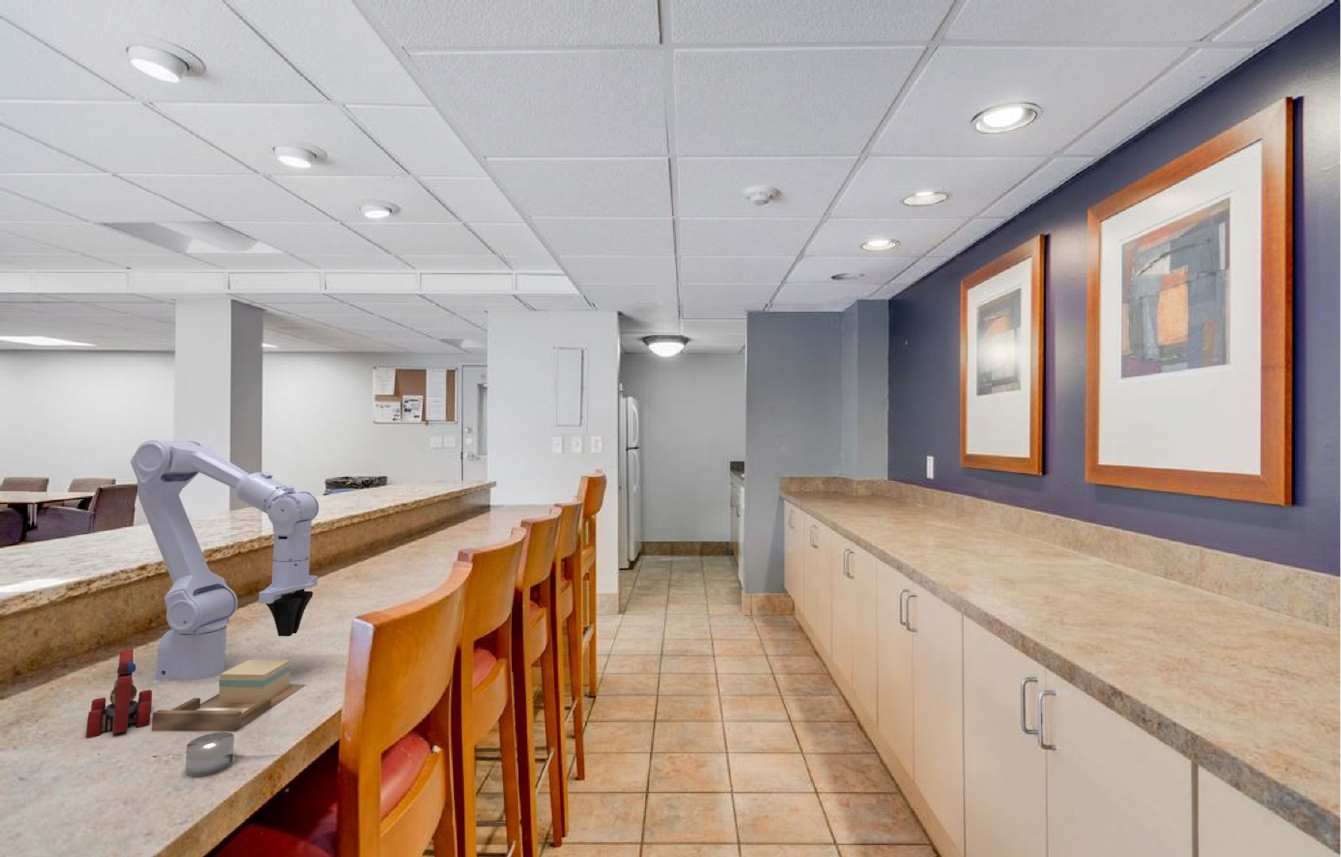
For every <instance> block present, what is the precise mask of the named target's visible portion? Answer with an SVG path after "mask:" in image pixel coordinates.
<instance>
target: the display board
mask: <svg viewBox="0 0 1341 857" xmlns="http://www.w3.org/2000/svg"><path fill="white" fill-rule="evenodd" d="M306 686H307V684H304V683H303V684H298V683H297V684H296V683H294V684H293V683H292V684H291V683H289V687H287V688H286V689H284V690H283V691H281V692H279V693H278V694H276V695H275V696H273V697H272V698H270V699H264V700H262V701H260V702H259V703H219V693H218V694H215V695H213V696H212V697H210V698H209V699H207V700H205V701H203V702H201V697H194V698H191V699H189V700H187V701H186V702H183V703H182V704H180V705H178V706H176V707H174V708H173V709H170V710H169V709H165V710H164V709H163V710H162V709H158V710H156V711H154V712H152V718H151V719H152V720H151V721H152V722H151V732H204V733H205V732H212V733H213V732H214V733H219V732H228V733H231V732H232V733H235V732H238V731H239V730H241V729H242V728H244V727H245V726H247V725H249V724H250V723H252V722H253V721H254V720H256V719H258V718H259V717H260V716H262V715H263V714H265V713H267V712H268V711H269V710H271V709H273V708H274V707H275V706H277V705H279V704H280V703H282V702H284V700H286V699H287V698H289V697H290V696H292V695H294V694H295V693H297V692H298V691H300V690H301V689H303V688H304V687H306Z"/></svg>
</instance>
